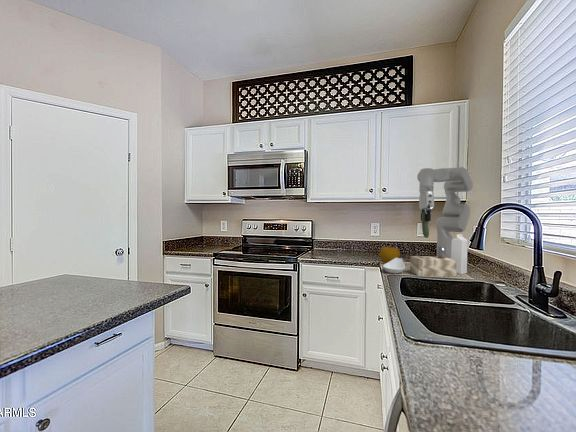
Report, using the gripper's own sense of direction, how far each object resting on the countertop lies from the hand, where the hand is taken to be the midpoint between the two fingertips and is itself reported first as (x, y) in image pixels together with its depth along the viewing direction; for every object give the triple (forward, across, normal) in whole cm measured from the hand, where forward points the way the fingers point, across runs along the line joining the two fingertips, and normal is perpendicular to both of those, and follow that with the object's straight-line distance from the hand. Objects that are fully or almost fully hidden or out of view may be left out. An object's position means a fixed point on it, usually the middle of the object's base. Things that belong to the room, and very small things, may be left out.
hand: (425, 220), depth 177 cm
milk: (+29, -5, -17) cm, 35 cm away
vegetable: (+11, 0, 0) cm, 11 cm away
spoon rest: (+30, -4, +18) cm, 35 cm away
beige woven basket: (+29, -12, +1) cm, 31 cm away
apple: (+30, +20, +14) cm, 38 cm away
